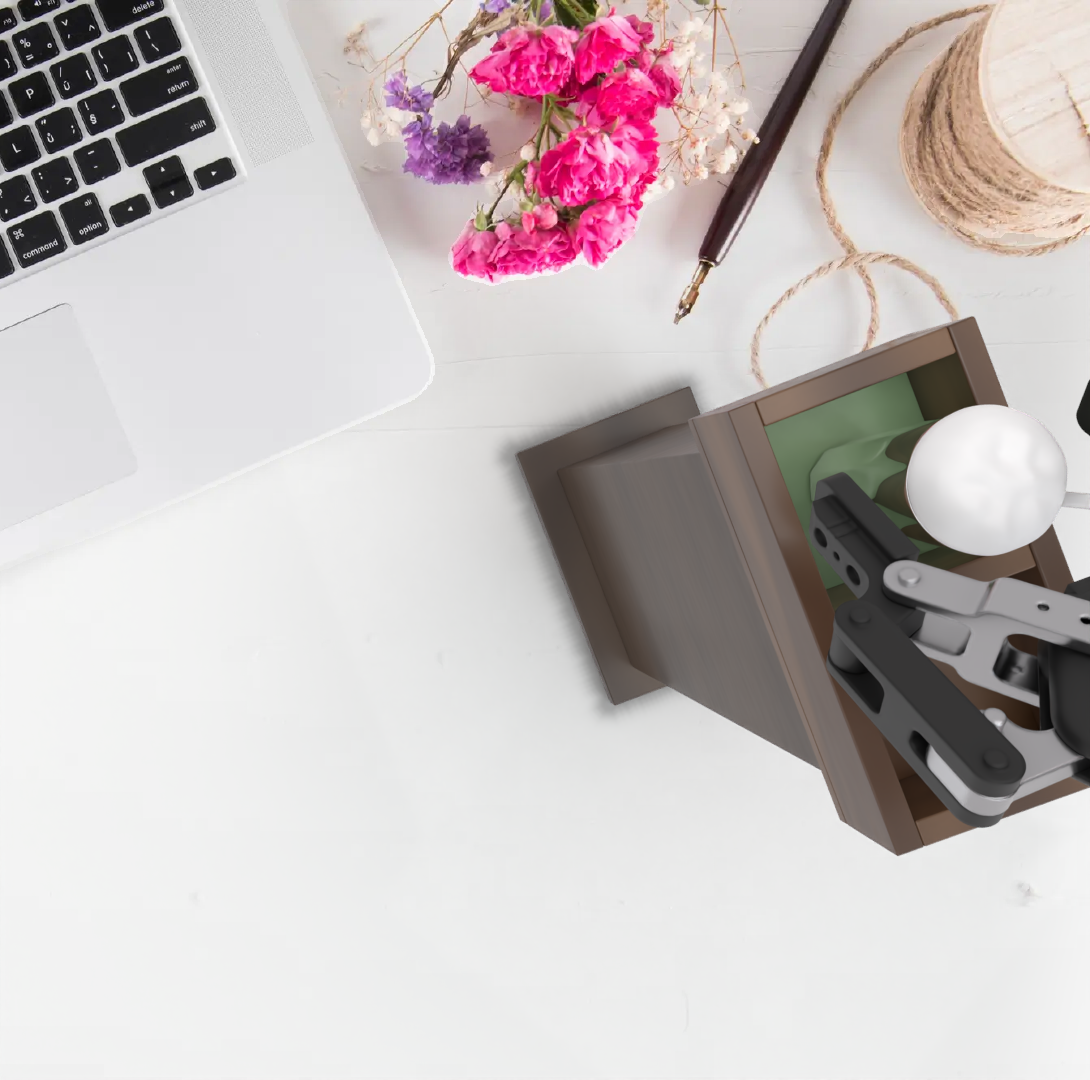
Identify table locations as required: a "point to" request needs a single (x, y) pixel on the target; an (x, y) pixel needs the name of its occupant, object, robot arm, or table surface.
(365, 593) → the table surface
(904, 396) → the box
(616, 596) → the stand
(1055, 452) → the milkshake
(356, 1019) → the table surface
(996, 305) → the table surface
